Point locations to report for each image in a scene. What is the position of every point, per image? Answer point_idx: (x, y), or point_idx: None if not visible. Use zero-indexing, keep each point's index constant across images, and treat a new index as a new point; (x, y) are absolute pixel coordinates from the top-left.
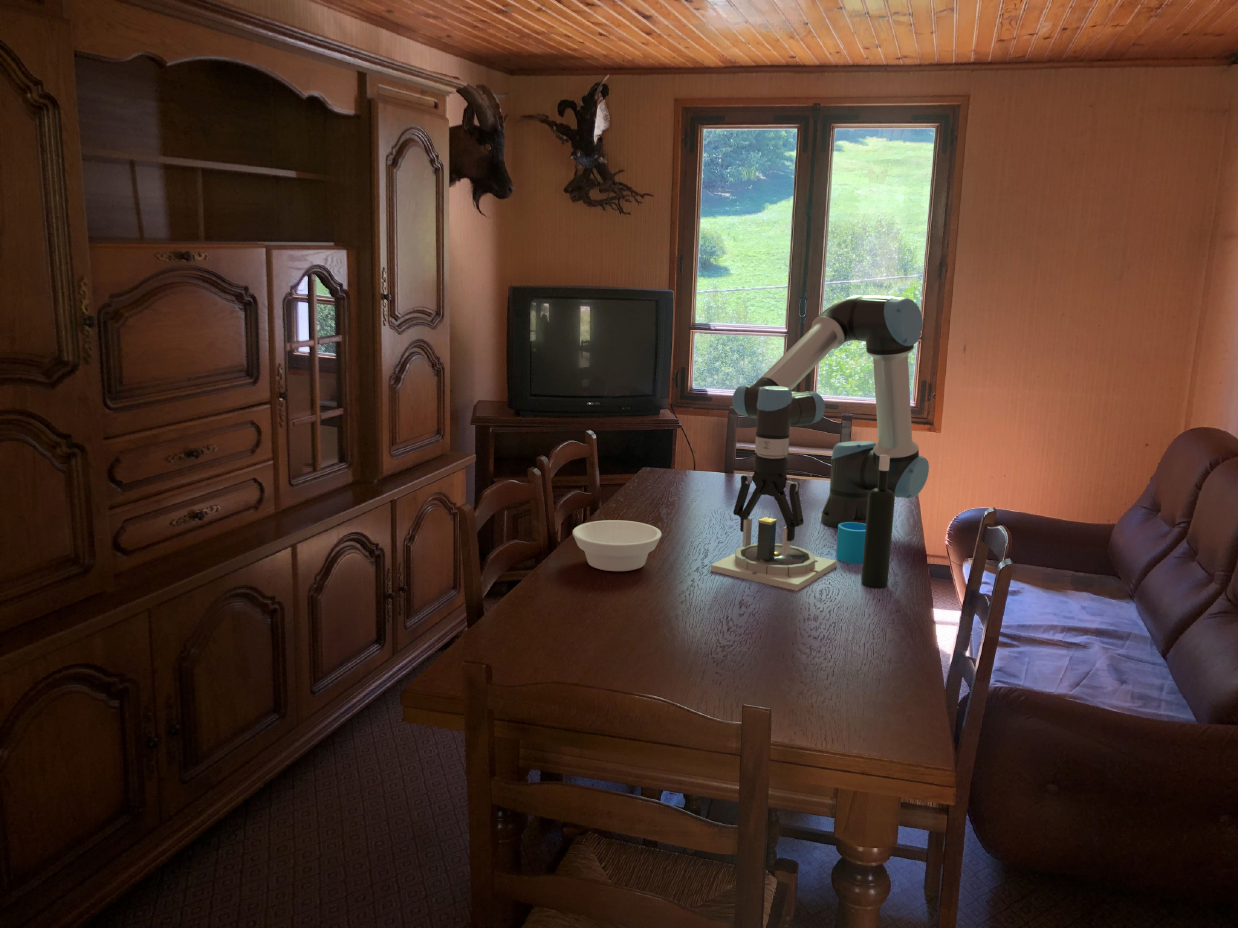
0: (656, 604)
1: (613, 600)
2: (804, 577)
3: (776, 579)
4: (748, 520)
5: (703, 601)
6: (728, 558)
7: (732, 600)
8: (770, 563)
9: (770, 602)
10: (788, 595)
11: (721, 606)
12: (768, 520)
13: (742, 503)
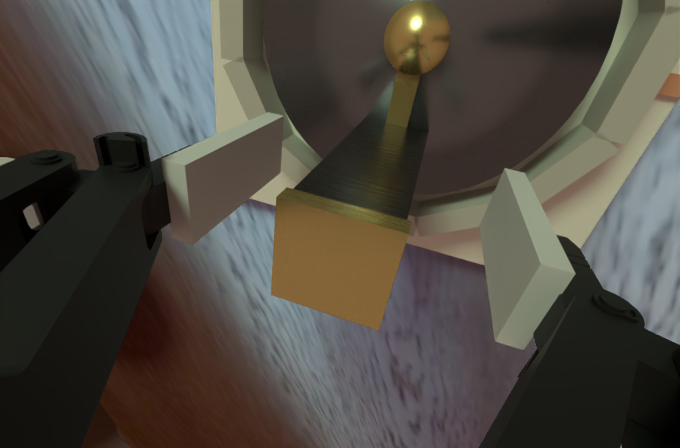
0: (254, 399)
1: (191, 391)
2: (591, 200)
3: (466, 258)
4: (194, 216)
5: (319, 379)
6: (227, 85)
7: (373, 367)
8: (423, 194)
9: (468, 365)
10: None
11: (362, 396)
12: (344, 287)
13: (9, 261)
